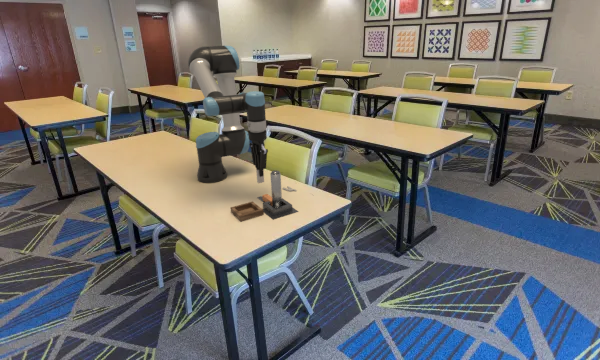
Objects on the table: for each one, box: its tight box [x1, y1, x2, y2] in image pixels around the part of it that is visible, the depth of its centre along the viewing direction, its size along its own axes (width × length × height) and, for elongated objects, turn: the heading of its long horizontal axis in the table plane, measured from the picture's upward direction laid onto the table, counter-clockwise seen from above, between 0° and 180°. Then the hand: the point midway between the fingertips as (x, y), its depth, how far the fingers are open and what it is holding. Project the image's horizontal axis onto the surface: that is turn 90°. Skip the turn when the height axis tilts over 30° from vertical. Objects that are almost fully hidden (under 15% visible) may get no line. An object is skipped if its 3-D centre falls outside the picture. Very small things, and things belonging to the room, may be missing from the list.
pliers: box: [282, 186, 314, 196], centre depth 164 cm, size 10×2×15 cm
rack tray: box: [230, 200, 265, 222], centre depth 145 cm, size 10×10×3 cm
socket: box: [256, 195, 299, 221], centre depth 152 cm, size 23×12×3 cm, turn 32°
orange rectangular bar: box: [261, 193, 273, 206], centre depth 154 cm, size 8×2×2 cm, turn 32°
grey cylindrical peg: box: [269, 170, 283, 208], centre depth 145 cm, size 4×4×17 cm
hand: (260, 182), depth 157 cm, fingers closed
